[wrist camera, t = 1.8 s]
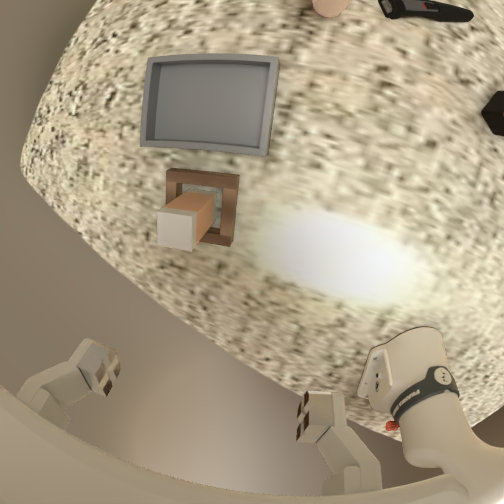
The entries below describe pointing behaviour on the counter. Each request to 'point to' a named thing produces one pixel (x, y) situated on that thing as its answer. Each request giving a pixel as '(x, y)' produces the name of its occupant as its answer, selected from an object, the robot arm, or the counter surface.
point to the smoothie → (330, 7)
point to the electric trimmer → (425, 10)
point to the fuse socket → (214, 180)
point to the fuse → (186, 219)
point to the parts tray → (210, 102)
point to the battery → (495, 113)
